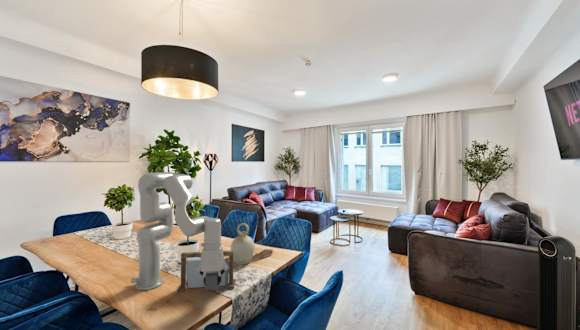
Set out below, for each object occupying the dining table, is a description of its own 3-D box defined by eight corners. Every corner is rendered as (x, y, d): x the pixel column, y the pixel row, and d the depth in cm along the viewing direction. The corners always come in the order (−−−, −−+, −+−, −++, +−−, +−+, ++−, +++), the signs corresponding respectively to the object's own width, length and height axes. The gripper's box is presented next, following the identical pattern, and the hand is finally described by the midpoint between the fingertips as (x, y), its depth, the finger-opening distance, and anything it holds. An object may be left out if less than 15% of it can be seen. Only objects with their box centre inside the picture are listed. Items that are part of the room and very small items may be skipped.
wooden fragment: (266, 248, 176) (266, 247, 176) (278, 251, 170) (278, 250, 170) (243, 261, 154) (243, 259, 154) (256, 264, 148) (256, 263, 148)
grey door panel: (186, 288, 118) (186, 260, 118) (186, 286, 119) (187, 259, 119) (228, 285, 121) (228, 258, 121) (228, 284, 122) (228, 257, 122)
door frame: (176, 292, 114) (176, 256, 114) (182, 284, 122) (182, 250, 122) (234, 288, 118) (234, 253, 118) (235, 281, 126) (235, 248, 126)
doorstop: (205, 290, 104) (205, 276, 104) (211, 274, 118) (211, 262, 118) (216, 289, 104) (216, 276, 104) (221, 273, 119) (221, 262, 119)
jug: (236, 255, 162) (236, 220, 162) (257, 257, 159) (257, 221, 159) (226, 264, 147) (226, 225, 147) (249, 266, 144) (249, 226, 144)
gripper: (191, 249, 102) (191, 289, 102) (230, 247, 105) (230, 287, 105) (195, 243, 110) (195, 281, 110) (232, 241, 112) (232, 279, 112)
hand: (212, 283), depth 107 cm, fingers closed on doorstop, 5 cm apart
